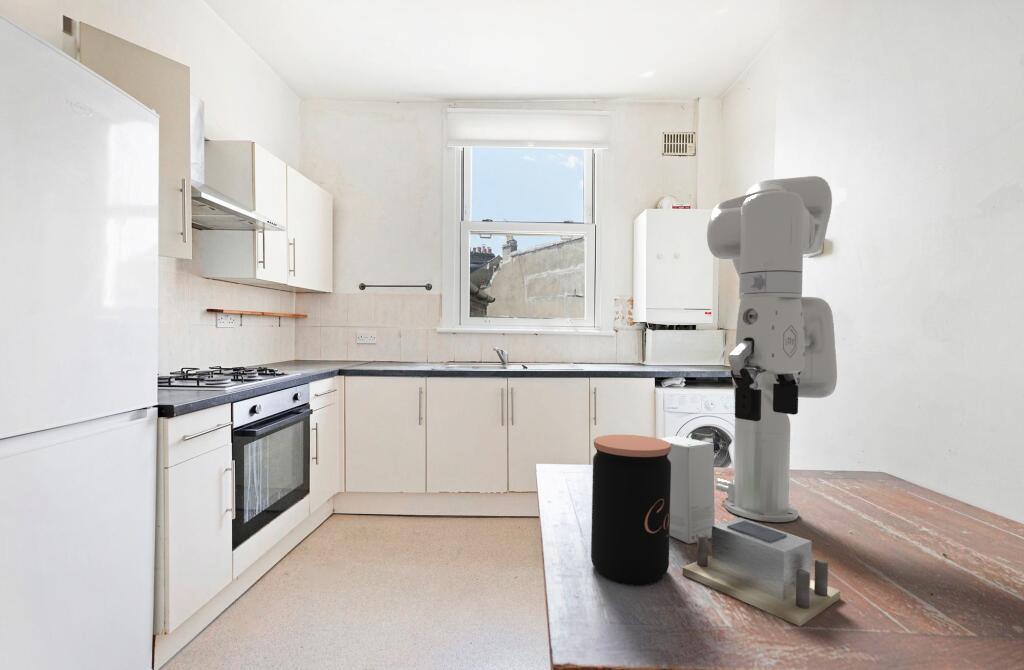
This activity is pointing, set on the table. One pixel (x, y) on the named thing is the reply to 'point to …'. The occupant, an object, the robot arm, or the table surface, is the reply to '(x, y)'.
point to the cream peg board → (794, 609)
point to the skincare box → (691, 488)
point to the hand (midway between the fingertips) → (767, 416)
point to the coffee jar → (631, 508)
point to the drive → (759, 556)
